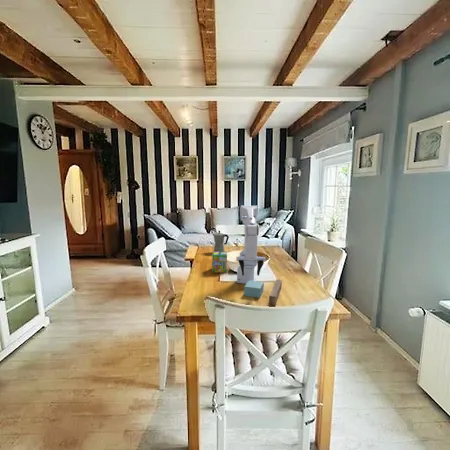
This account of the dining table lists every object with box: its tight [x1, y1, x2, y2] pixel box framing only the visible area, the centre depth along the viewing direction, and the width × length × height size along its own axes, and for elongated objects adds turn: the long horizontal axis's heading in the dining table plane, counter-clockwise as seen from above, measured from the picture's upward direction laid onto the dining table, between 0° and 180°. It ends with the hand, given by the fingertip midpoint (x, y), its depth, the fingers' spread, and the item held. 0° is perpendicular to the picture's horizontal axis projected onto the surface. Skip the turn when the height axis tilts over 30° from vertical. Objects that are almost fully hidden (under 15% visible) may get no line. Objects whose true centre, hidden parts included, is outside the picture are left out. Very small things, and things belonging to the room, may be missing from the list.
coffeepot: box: [212, 230, 229, 252], centre depth 225 cm, size 15×9×18 cm, turn 59°
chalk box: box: [211, 249, 228, 274], centre depth 177 cm, size 9×9×15 cm
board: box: [268, 279, 283, 307], centre depth 139 cm, size 3×24×4 cm, turn 162°
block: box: [243, 280, 265, 299], centre depth 142 cm, size 8×10×5 cm
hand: (250, 275), depth 140 cm, fingers open, 7 cm apart
